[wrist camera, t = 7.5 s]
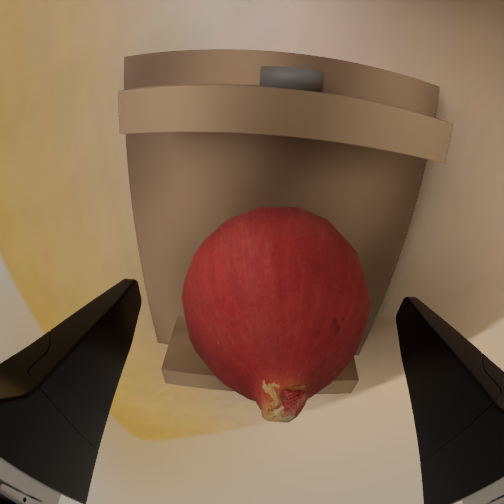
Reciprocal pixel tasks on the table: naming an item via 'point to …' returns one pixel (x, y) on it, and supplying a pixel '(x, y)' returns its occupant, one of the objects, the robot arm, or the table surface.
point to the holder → (269, 165)
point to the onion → (276, 306)
